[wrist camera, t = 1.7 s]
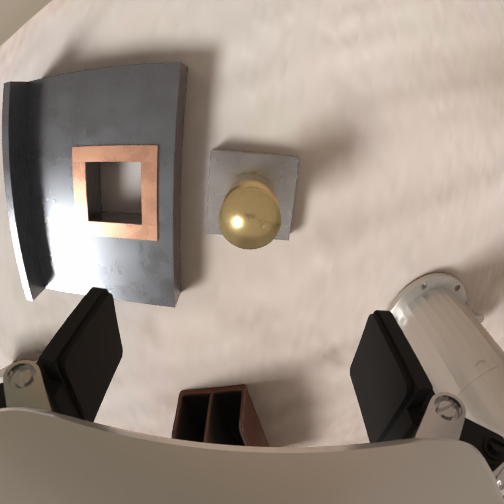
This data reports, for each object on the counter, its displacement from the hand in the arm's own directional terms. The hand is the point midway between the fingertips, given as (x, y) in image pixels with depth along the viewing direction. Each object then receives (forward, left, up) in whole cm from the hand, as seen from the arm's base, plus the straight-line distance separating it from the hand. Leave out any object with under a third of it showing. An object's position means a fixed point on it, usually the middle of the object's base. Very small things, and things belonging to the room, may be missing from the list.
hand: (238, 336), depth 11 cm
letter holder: (0, +37, -22) cm, 43 cm away
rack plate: (+16, 0, -21) cm, 27 cm away
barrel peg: (0, 0, -20) cm, 20 cm away
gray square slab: (0, 0, -21) cm, 21 cm away
